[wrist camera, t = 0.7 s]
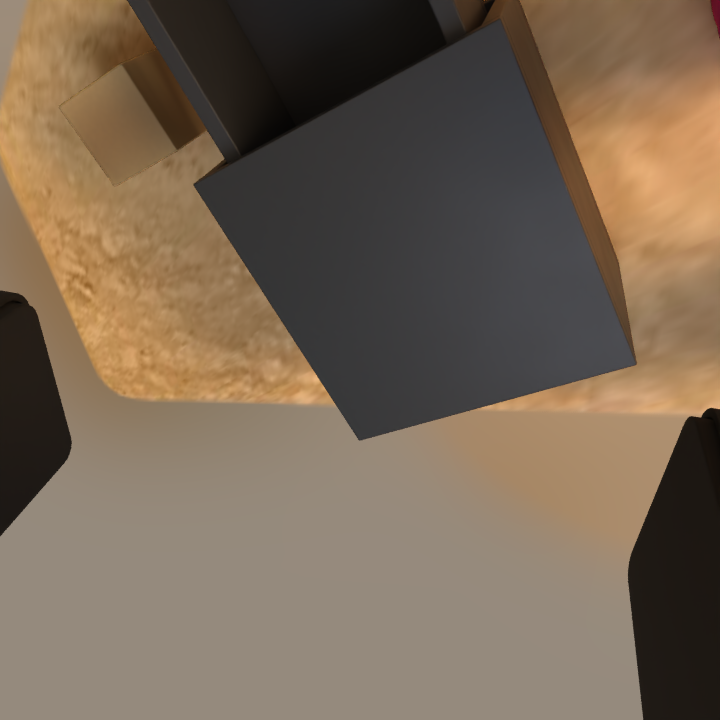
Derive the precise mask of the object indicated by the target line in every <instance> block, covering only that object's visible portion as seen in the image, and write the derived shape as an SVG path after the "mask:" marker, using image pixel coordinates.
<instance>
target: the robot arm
mask: <svg viewBox="0 0 720 720" xmlns="http://www.w3.org/2000/svg"><path fill="white" fill-rule="evenodd" d="M71 444H72V441H71V436H70V432H69V429H68V425H67V421H66V418H65V414H64V410H63V407H62V403H61V399H60V396H59V392H58V388H57V385H56V381H55V377H54V374H53V370H52V366H51V363H50V359H49V356H48V352H47V348H46V344H45V341H44V337H43V333H42V330H41V326H40V322H39V319H38V315H37V313H36V311H35V309H34V308H33V307H32V306H30V305H29V304H28V301H27V300H26V299H25V298H24V297H23V296H22V295H20V294H17V293H12V292H5V291H0V536H1V535H2V534H3V533H4V531H5V530H6V529H7V528H8V527H9V526H10V525H11V523H12V522H13V521H14V520H15V519H16V518H17V517H18V515H19V514H20V513H21V512H22V511H23V509H25V507H26V506H27V505H28V504H29V503H30V502H31V501H32V499H33V498H34V497H35V496H36V495H37V494H38V492H39V491H40V490H41V489H42V488H43V487H44V486H45V485H46V483H47V482H48V481H49V480H50V479H51V478H52V476H53V475H54V474H55V473H56V472H57V471H58V469H60V467H61V466H62V465H63V464H64V463H65V461H66V460H67V458H68V456H69V454H70V450H71ZM628 583H629V592H630V602H631V611H632V620H633V629H634V638H635V647H636V655H637V666H638V675H639V684H640V693H641V702H642V711H643V720H720V409H714V408H709V409H707V410H706V411H705V412H704V413H703V415H702V417H701V418H699V417H693V416H691V417H689V418H688V419H687V420H686V422H685V424H684V426H683V428H682V430H681V433H680V436H679V438H678V441H677V443H676V445H675V448H674V450H673V453H672V455H671V457H670V460H669V463H668V465H667V468H666V470H665V472H664V475H663V477H662V480H661V482H660V485H659V487H658V490H657V492H656V494H655V497H654V499H653V502H652V504H651V506H650V509H649V511H648V514H647V517H646V519H645V522H644V524H643V526H642V529H641V531H640V534H639V536H638V539H637V541H636V543H635V546H634V548H633V551H632V553H631V557H630V561H629V568H628Z"/></svg>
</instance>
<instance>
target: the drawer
mask: <svg viewBox="0 0 720 720" xmlns="http://www.w3.org/2000/svg"><path fill="white" fill-rule="evenodd" d="M127 1H128V2H129V4H130V6H131V7H132V9H133V10H134V12H135V14H136V15H137V17H138V19H139V20H140V22H141V23H142V25H143V27H144V28H145V30H146V32H147V33H148V35H149V36H150V38H151V40H152V41H153V43H154V44H155V46H156V48H157V49H158V51H159V53H160V54H161V56H162V57H163V59H164V61H165V62H166V64H167V66H168V67H169V69H170V70H171V72H172V74H173V75H174V77H175V79H176V80H177V82H178V83H179V85H180V87H181V88H182V90H183V92H184V93H185V95H186V96H187V98H188V100H189V101H190V103H191V105H192V106H193V108H194V109H195V111H196V113H197V114H198V116H199V118H200V119H201V121H202V122H203V124H204V126H205V127H206V129H207V131H208V132H209V134H210V135H211V137H212V139H213V140H214V142H215V143H216V145H217V147H218V148H219V150H220V152H221V153H222V155H223V156H224V158H225V160H226V161H227V163H230V162H232V161H234V160H235V159H237V158H239V157H241V156H243V155H245V154H246V153H248V152H250V151H252V150H254V149H256V148H257V147H259V146H261V145H263V144H265V143H267V142H268V141H270V140H272V139H274V138H276V137H278V136H279V135H281V134H283V133H285V132H287V131H289V130H290V129H292V128H294V127H296V126H298V125H300V124H301V123H303V122H305V121H307V120H309V119H311V118H313V117H314V116H316V115H318V114H320V113H322V112H324V111H325V110H327V109H329V108H331V107H333V106H335V105H336V104H338V103H340V102H342V101H344V100H346V99H347V98H349V97H351V96H353V95H355V94H357V93H358V92H360V91H362V90H364V89H366V88H368V87H369V86H371V85H373V84H375V83H377V82H379V81H381V80H382V79H384V78H386V77H388V76H390V75H392V74H393V73H395V72H397V71H399V70H401V69H403V68H404V67H406V66H408V65H410V64H412V63H414V62H415V61H417V60H419V59H421V58H423V57H425V56H426V55H428V54H430V53H432V52H434V51H436V50H437V49H439V48H441V47H443V46H445V45H447V44H449V43H450V42H452V41H454V40H456V39H458V38H460V37H461V36H463V35H465V34H467V33H469V32H471V31H472V30H474V29H476V28H478V27H480V26H482V24H483V22H484V20H485V18H486V16H487V14H488V13H487V11H486V8H485V6H484V3H483V1H482V0H127Z"/></svg>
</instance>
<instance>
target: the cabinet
mask: <svg viewBox="0 0 720 720" xmlns="http://www.w3.org/2000/svg"><path fill="white" fill-rule="evenodd" d="M484 6H485V8H486V11H487V13H488V14H487V16H486V18H485V20H484V22H483V24H482V26H480V27H478V28H476V29H474V30H472V31H471V32H469V33H467V34H465V35H463V36H461V37H460V38H458V39H456V40H454V41H452V42H450V43H449V44H447V45H445V46H443V47H441V48H439V49H437V50H436V51H434V52H432V53H430V54H428V55H426V56H425V57H423V58H421V59H419V60H417V61H415V62H414V63H412V64H410V65H408V66H406V67H404V68H403V69H401V70H399V71H397V72H395V73H393V74H392V75H390V76H388V77H386V78H384V79H382V80H381V81H379V82H377V83H375V84H373V85H371V86H369V87H368V88H366V89H364V90H362V91H360V92H358V93H357V94H355V95H353V96H351V97H349V98H347V99H346V100H344V101H342V102H340V103H338V104H336V105H335V106H333V107H331V108H329V109H327V110H325V111H324V112H322V113H320V114H318V115H316V116H314V117H313V118H311V119H309V120H307V121H305V122H303V123H301V124H300V125H298V126H296V127H294V128H292V129H290V130H289V131H287V132H285V133H283V134H281V135H279V136H278V137H276V138H274V139H272V140H270V141H268V142H267V143H265V144H263V145H261V146H259V147H257V148H256V149H254V150H252V151H250V152H248V153H246V154H245V155H243V156H241V157H239V158H237V159H235V160H234V161H232V162H230V163H227V161H226V160H225V159H224V160H223V161H222V162H221V163H219V164H218V165H217V166H216V167H214V168H213V169H212V170H211V171H209V172H208V173H207V174H206V175H205V176H203V177H202V178H201V179H199V180H198V181H197V182H196V183H194V187H195V188H196V190H197V191H198V193H199V194H200V196H201V198H202V199H203V201H204V202H205V204H206V205H207V207H208V208H209V210H210V211H211V213H212V215H213V216H214V218H215V219H216V221H217V222H218V224H219V225H220V227H221V228H222V230H223V231H224V233H225V235H226V236H227V238H228V239H229V241H230V242H231V244H232V245H233V247H234V248H235V250H236V252H237V253H238V255H239V256H240V258H241V259H242V261H243V262H244V264H245V265H246V267H247V268H248V270H249V272H250V273H251V275H252V276H253V278H254V279H255V281H256V282H257V284H258V285H259V287H260V289H261V290H262V292H263V293H264V295H265V296H266V298H267V299H268V301H269V302H270V304H271V305H272V307H273V309H274V310H275V312H276V313H277V315H278V316H279V318H280V319H281V321H282V322H283V324H284V325H285V327H286V329H287V330H288V332H289V333H290V335H291V336H292V338H293V339H294V341H295V342H296V344H297V346H298V347H299V349H300V350H301V352H302V353H303V355H304V356H305V358H306V359H307V361H308V362H309V364H310V366H311V367H312V369H313V370H314V372H315V373H316V375H317V376H318V378H319V379H320V381H321V383H322V384H323V386H324V387H325V389H326V390H327V392H328V393H329V395H330V396H331V398H332V399H333V401H334V403H335V404H336V406H337V407H338V409H339V410H340V412H341V413H342V415H343V416H344V418H345V420H346V421H347V423H348V424H349V426H350V427H351V429H352V430H353V432H354V433H355V435H356V436H357V438H358V440H363V439H367V438H371V437H375V436H378V435H382V434H386V433H389V432H393V431H397V430H400V429H404V428H408V427H411V426H415V425H418V424H422V423H426V422H430V421H433V420H437V419H441V418H444V417H448V416H451V415H455V414H458V413H462V412H466V411H470V410H473V409H477V408H481V407H484V406H488V405H492V404H495V403H499V402H503V401H506V400H510V399H514V398H517V397H521V396H524V395H528V394H532V393H535V392H539V391H543V390H546V389H550V388H554V387H557V386H561V385H565V384H568V383H572V382H576V381H579V380H583V379H587V378H590V377H594V376H598V375H601V374H605V373H608V372H612V371H616V370H619V369H623V368H627V367H630V366H634V365H637V362H636V356H635V353H634V346H633V340H632V335H631V329H630V324H629V318H628V312H627V307H626V301H625V296H624V290H623V284H622V279H621V273H620V267H619V262H618V260H617V257H616V254H615V252H614V249H613V246H612V244H611V241H610V238H609V236H608V233H607V230H606V228H605V225H604V223H603V220H602V217H601V215H600V212H599V209H598V207H597V204H596V201H595V199H594V196H593V193H592V191H591V188H590V186H589V183H588V180H587V178H586V175H585V172H584V170H583V167H582V164H581V162H580V159H579V156H578V154H577V151H576V149H575V146H574V143H573V141H572V138H571V135H570V133H569V130H568V127H567V125H566V122H565V119H564V117H563V114H562V112H561V109H560V106H559V104H558V101H557V98H556V96H555V93H554V90H553V88H552V85H551V82H550V80H549V77H548V75H547V72H546V69H545V67H544V64H543V61H542V59H541V56H540V53H539V51H538V48H537V46H536V43H535V40H534V38H533V35H532V32H531V30H530V27H529V24H528V22H527V19H526V16H525V14H524V11H523V9H522V6H521V3H520V1H519V0H487V1H485V2H484Z"/></svg>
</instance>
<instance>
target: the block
mask: <svg viewBox="0 0 720 720" xmlns="http://www.w3.org/2000/svg"><path fill="white" fill-rule="evenodd" d="M59 109H60V110H61V111H62V113H63V114H64V116H65V117H66V118H67V120H68V121H69V123H70V124H71V126H72V127H73V128H74V130H75V131H76V133H77V134H78V136H79V137H80V138H81V140H82V141H83V143H84V144H85V145H86V147H87V148H88V150H89V151H90V153H91V154H92V155H93V157H94V158H95V160H96V161H97V163H98V164H99V165H100V167H101V168H102V170H103V171H104V172H105V174H106V175H107V177H108V178H109V180H110V181H111V182H112V184H113V185H114V186H115V187H116V186H118V185H120V184H122V183H123V182H125V181H127V180H128V179H130V178H132V177H134V176H135V175H137V174H139V173H141V172H142V171H144V170H146V169H147V168H149V167H151V166H153V165H154V164H156V163H158V162H159V161H161V160H163V159H165V158H166V157H168V156H170V155H172V154H173V153H175V152H177V151H178V150H180V149H181V148H183V147H184V146H185V145H187V144H188V143H190V142H191V141H193V140H194V139H196V138H197V137H199V136H200V135H201V134H203V133H204V132H206V131H207V129H206V127H205V126H204V124H203V122H202V121H201V119H200V118H199V116H198V114H197V113H196V111H195V109H194V108H193V106H192V105H191V103H190V101H189V100H188V98H187V96H186V95H185V93H184V92H183V90H182V88H181V87H180V85H179V83H178V82H177V80H176V79H175V77H174V75H173V74H172V72H171V70H170V69H169V67H168V66H167V64H166V62H165V61H164V59H163V57H162V56H161V54H160V53H159V51H158V49H155V50H153V51H150V52H148V53H145V54H143V55H140V56H137V57H135V58H132V59H130V60H127V61H125V62H122V63H120V64H119V65H117V66H116V67H114V68H113V69H111V70H110V71H108V72H107V73H106V74H104V75H103V76H101V77H100V78H98V79H97V80H96V81H94V82H93V83H91V84H90V85H88V86H87V87H85V88H84V89H83V90H81V91H80V92H78V93H77V94H75V95H74V96H73V97H71V98H70V99H68V100H67V101H65V102H64V103H62V104H61V105H60V106H59Z"/></svg>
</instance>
